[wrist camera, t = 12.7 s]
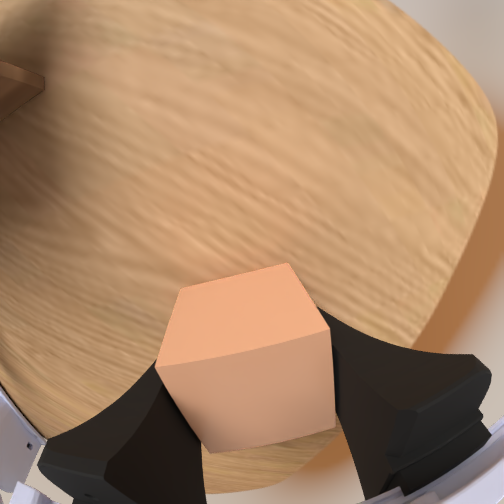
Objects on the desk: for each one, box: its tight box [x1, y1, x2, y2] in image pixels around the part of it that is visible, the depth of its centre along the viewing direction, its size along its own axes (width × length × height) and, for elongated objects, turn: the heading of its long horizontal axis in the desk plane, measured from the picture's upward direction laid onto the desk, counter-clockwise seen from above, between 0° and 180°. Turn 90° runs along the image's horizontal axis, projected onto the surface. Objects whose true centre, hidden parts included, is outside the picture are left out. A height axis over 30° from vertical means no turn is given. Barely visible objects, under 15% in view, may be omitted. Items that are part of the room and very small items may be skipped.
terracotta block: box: [155, 263, 336, 453], centre depth 9 cm, size 4×4×5 cm
